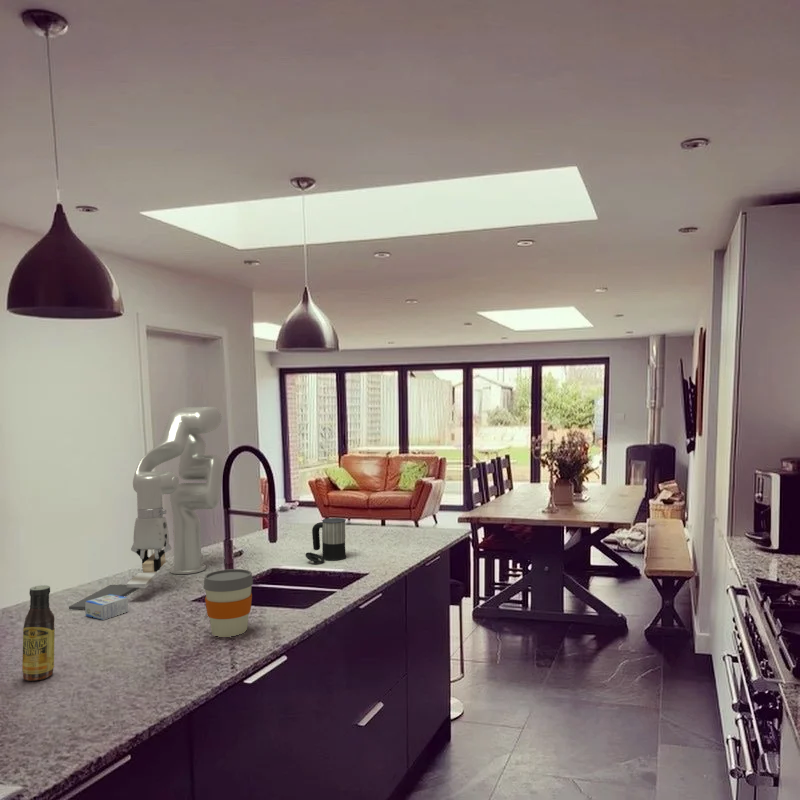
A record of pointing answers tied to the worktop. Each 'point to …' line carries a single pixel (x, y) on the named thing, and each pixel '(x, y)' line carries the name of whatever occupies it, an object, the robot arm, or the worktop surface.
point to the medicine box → (106, 606)
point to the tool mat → (104, 594)
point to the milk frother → (329, 540)
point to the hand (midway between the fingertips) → (151, 570)
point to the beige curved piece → (145, 573)
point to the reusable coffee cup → (228, 601)
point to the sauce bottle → (38, 636)
